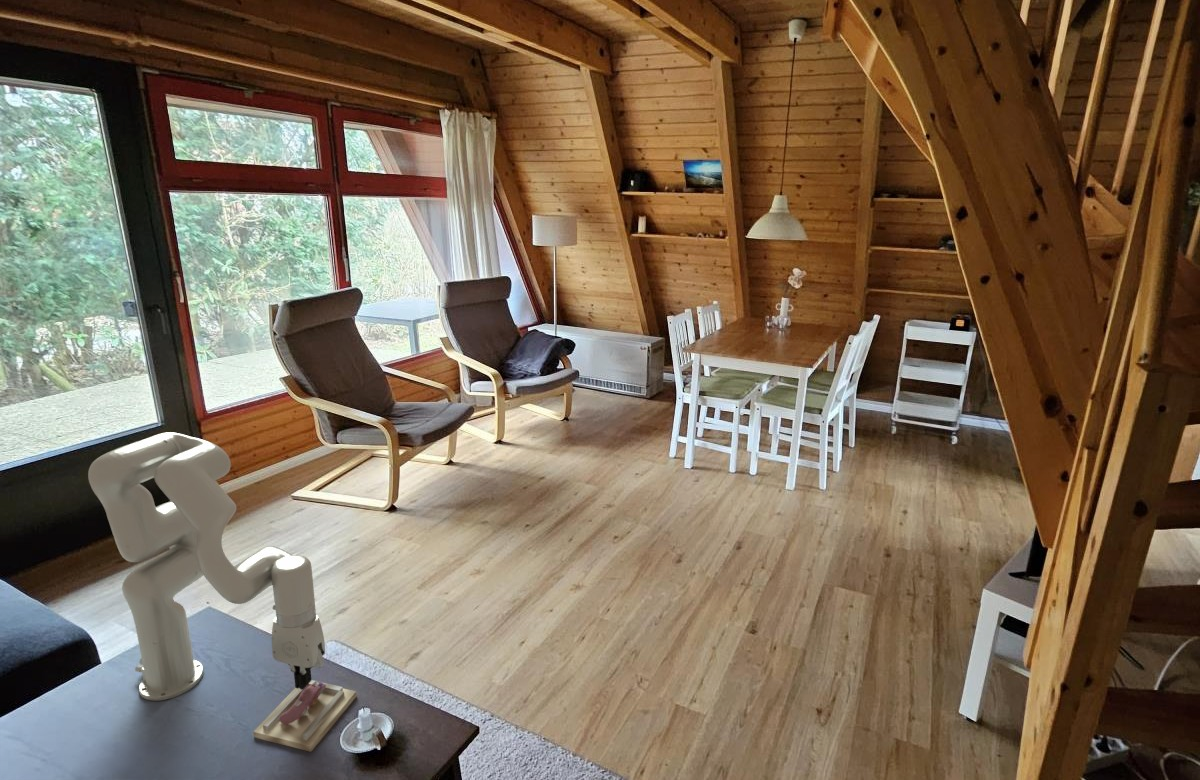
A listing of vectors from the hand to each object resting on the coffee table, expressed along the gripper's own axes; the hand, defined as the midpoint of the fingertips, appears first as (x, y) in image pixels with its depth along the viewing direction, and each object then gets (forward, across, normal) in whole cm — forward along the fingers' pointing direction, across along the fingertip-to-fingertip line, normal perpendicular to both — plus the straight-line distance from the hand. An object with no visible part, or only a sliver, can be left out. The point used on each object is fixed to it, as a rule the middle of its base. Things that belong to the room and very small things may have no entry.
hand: (303, 684), depth 137 cm
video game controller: (+7, 0, 0) cm, 7 cm away
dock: (+9, 0, 0) cm, 9 cm away
